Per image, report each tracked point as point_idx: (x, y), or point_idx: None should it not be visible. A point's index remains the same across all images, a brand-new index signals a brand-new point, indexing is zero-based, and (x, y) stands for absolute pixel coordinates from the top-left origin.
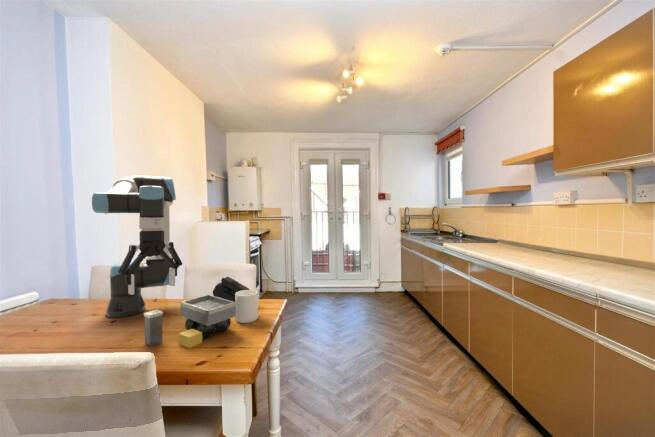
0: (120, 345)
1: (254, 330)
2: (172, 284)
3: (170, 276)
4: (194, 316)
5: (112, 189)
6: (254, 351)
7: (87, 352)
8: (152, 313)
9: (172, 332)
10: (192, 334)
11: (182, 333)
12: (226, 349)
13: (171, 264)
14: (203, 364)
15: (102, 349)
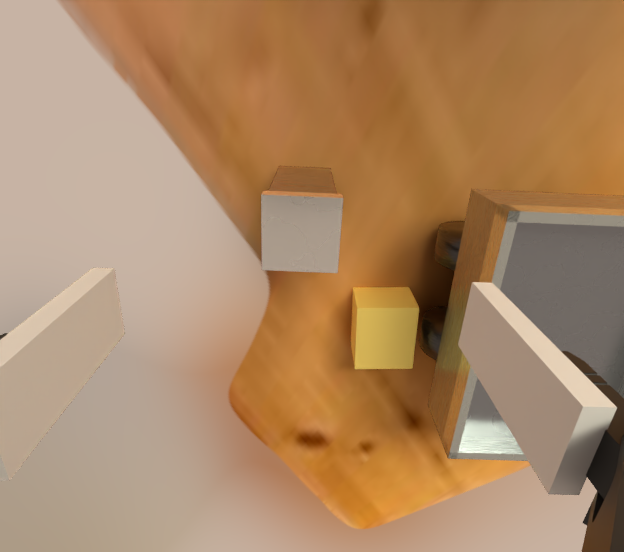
0: (203, 84)
1: None
2: (465, 343)
3: (508, 357)
4: (452, 328)
5: None
6: (432, 494)
7: (79, 26)
8: (288, 249)
9: (414, 152)
10: (378, 358)
11: (364, 320)
12: (404, 435)
13: (587, 545)
14: (310, 449)
15: (135, 55)
